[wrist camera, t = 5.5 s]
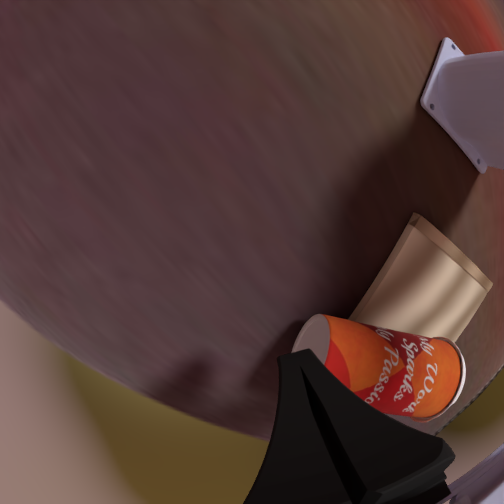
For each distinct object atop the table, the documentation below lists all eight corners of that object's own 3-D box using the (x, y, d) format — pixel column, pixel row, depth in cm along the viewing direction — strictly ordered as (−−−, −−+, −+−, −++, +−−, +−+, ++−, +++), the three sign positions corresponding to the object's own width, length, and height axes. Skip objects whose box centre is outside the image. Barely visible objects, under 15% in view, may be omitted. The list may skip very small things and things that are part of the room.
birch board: (487, 280, 22) (492, 283, 22) (397, 401, 28) (400, 406, 27) (413, 212, 18) (421, 215, 17) (293, 388, 23) (296, 395, 22)
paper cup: (349, 283, 15) (473, 331, 17) (295, 310, 22) (414, 345, 24) (321, 421, 12) (462, 423, 14) (271, 404, 19) (401, 419, 21)
